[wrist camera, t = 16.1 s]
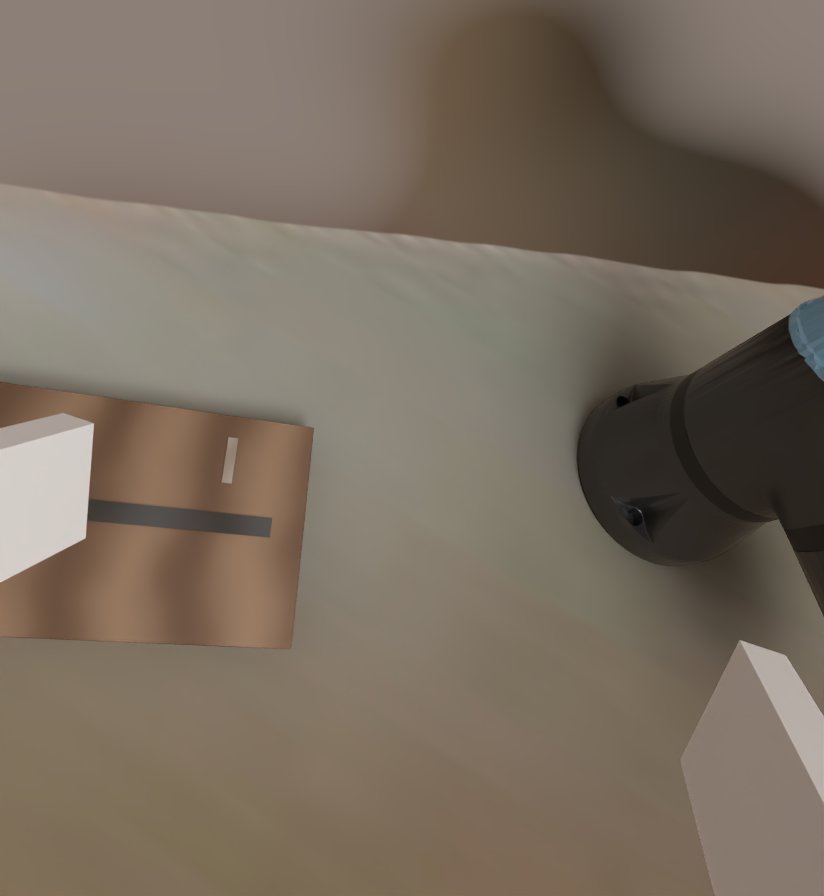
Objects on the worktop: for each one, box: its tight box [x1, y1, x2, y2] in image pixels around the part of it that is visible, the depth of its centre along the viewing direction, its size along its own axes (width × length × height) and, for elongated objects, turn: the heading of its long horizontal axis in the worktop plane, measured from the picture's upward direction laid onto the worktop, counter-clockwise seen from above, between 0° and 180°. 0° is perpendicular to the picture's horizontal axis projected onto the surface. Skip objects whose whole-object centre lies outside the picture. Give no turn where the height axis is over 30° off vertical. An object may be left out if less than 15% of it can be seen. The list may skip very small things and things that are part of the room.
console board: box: [0, 382, 314, 649], centre depth 34 cm, size 24×14×2 cm, turn 88°
